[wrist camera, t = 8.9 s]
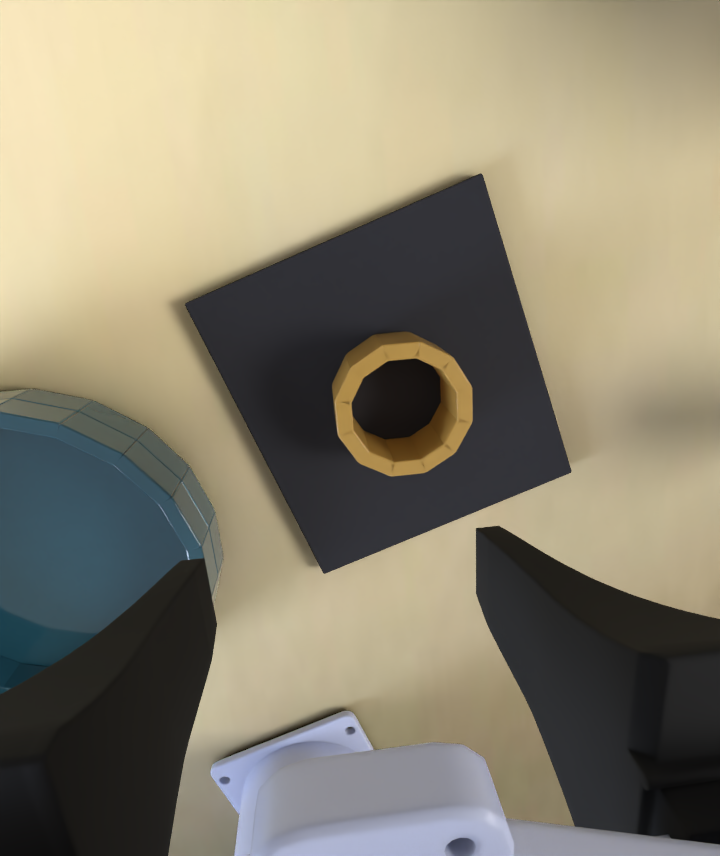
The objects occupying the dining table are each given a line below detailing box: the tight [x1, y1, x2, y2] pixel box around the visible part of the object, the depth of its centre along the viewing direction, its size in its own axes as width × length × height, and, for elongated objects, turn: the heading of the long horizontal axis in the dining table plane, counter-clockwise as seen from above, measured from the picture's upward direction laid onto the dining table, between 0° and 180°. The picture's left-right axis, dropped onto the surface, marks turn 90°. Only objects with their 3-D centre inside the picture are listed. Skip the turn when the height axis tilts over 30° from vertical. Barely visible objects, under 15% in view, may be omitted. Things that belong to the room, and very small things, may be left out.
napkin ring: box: [332, 331, 473, 476], centre depth 20 cm, size 5×5×3 cm
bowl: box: [0, 389, 223, 694], centre depth 21 cm, size 14×14×4 cm
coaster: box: [185, 174, 571, 574], centre depth 22 cm, size 13×12×1 cm
